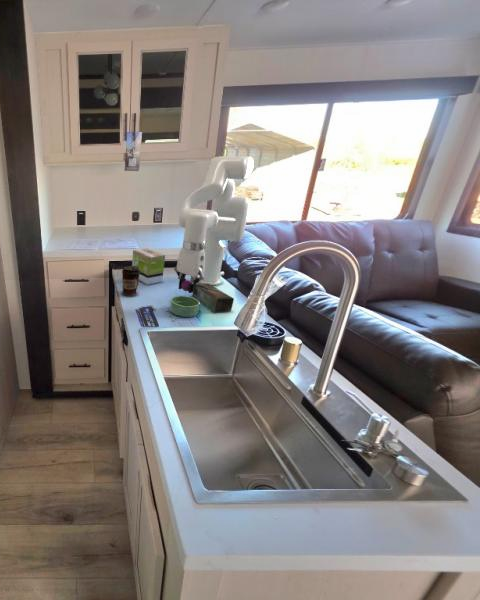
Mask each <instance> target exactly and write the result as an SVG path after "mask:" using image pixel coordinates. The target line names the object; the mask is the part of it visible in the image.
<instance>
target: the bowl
mask: <svg viewBox="0 0 480 600" xmlns="http://www.w3.org/2000/svg"><path fill="white" fill-rule="evenodd" d="M169 302H170V304H169V311H170V312H171V313H172V314H173V315H176V316H178V317H181V318H191V317H195V316H197V315H198V314H199V310H200V304H201V303H200V301H199V300H198V299H196V298H195V297H194V296H189V295H175V296H173V297H171V298H170V301H169Z"/></svg>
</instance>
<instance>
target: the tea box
mask: <svg viewBox="0 0 480 600" xmlns="http://www.w3.org/2000/svg"><path fill="white" fill-rule="evenodd" d="M131 259H132V260H131V261H132V262H131V263H132V264H131V266H136V267H139V270H140V274H139V281H140V282H142V283H144V284H145V285H147V286H148V285H153V284H158V283H163V280H164V279H163V278H164V270H165V260H166V254H163V253H160V252H158V251H156V250H153V249H151V248H148V247H147V248H140V249H133V250H132V258H131Z"/></svg>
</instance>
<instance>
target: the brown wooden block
mask: <svg viewBox="0 0 480 600" xmlns="http://www.w3.org/2000/svg"><path fill="white" fill-rule="evenodd" d="M191 294H192V295H191V297H193V298H195V299H197V300H198V301H199V302H201V304H203V305H205V306H206V307H207V308H209V309H210V310H212V311H213V312H214V313H224V312H225V313H226V312H232V309H233V305H234V300H235V298H234V297H232V296H230V295H229V294H227V293H225V292H224V291H222V290H220V289H219V288H217V287H215V285H211V284H209V283H205V284H202V283H199V282H198V283H196V289H195V292H193V293H191Z"/></svg>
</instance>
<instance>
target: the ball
mask: <svg viewBox="0 0 480 600" xmlns="http://www.w3.org/2000/svg"><path fill="white" fill-rule="evenodd" d="M190 283H191V280H187V279H186V281H184V282H183V283H182V284H181V287H182V289H181V290H182V291H183V292H188V291H189V284H190Z"/></svg>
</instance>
